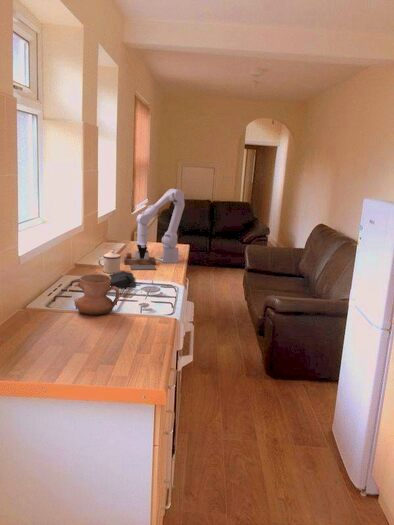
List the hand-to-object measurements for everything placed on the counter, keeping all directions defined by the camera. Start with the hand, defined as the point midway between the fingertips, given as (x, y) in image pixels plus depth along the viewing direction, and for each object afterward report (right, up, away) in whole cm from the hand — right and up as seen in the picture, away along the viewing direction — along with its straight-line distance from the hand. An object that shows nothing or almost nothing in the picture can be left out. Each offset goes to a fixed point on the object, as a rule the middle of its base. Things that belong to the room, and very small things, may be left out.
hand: (141, 257), depth 265 cm
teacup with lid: (-15, -8, -22) cm, 28 cm away
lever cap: (0, -1, 0) cm, 1 cm away
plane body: (-1, -4, +1) cm, 4 cm away
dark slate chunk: (-5, -13, -41) cm, 43 cm away
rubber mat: (+2, -6, -10) cm, 12 cm away
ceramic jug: (-7, -23, -86) cm, 89 cm away
